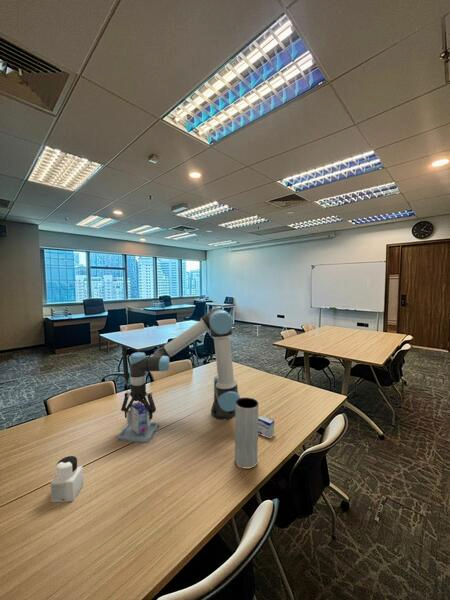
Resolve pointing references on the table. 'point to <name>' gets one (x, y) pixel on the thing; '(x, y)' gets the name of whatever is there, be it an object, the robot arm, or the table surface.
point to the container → (66, 480)
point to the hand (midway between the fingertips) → (138, 424)
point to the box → (265, 426)
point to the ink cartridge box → (138, 417)
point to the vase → (246, 432)
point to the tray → (131, 435)
